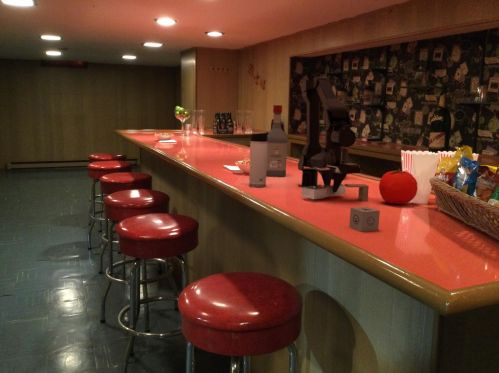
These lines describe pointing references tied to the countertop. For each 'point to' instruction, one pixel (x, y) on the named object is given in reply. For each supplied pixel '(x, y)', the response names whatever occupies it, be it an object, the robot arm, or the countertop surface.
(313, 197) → the square scoop
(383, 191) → the tomato
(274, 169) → the liquor
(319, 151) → the robot arm
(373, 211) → the dice cube
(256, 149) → the travel mug
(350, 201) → the countertop surface
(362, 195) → the block
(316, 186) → the dark round cylinder
